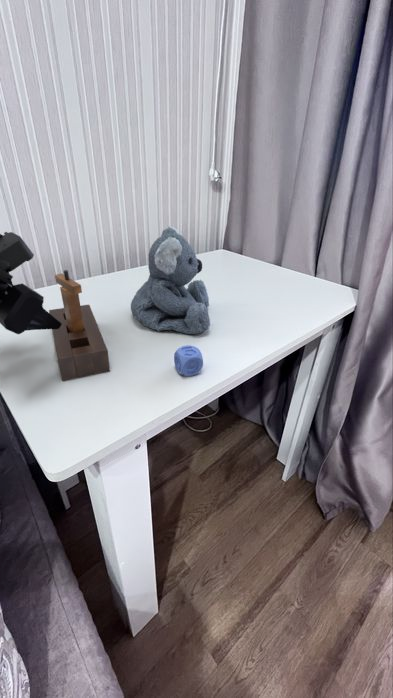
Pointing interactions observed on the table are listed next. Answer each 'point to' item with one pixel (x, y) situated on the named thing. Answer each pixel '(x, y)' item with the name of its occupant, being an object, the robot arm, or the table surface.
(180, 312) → the koala plush
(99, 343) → the rack
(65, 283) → the brown beam with peg
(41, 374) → the table surface
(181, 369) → the decorative dice
